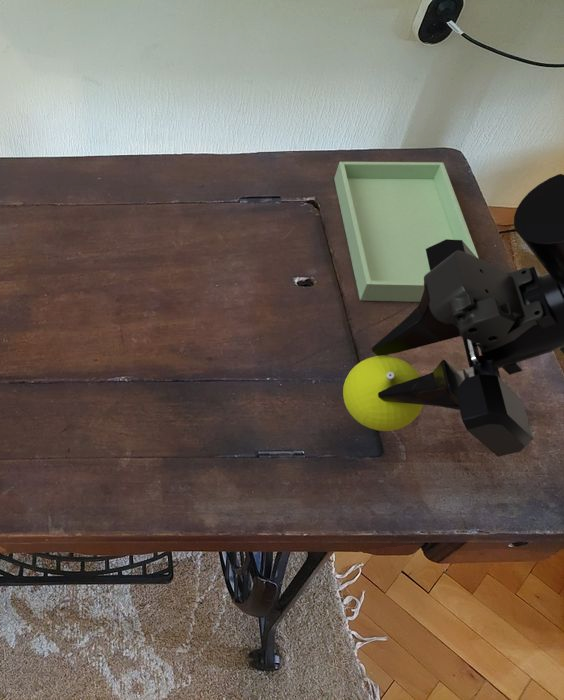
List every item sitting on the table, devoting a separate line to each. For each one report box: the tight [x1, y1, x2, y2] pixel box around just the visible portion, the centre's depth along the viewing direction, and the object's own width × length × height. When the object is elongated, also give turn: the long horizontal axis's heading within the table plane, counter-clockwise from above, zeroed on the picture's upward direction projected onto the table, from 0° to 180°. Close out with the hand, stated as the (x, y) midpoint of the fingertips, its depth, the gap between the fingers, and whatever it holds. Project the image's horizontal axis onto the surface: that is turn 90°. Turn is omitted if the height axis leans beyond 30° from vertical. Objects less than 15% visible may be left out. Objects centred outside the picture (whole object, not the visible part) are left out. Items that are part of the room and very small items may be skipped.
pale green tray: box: [333, 161, 479, 303], centre depth 86 cm, size 14×23×3 cm, turn 176°
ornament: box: [342, 355, 424, 432], centre depth 60 cm, size 7×7×10 cm
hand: (377, 374), depth 59 cm, fingers closed on ornament, 5 cm apart
